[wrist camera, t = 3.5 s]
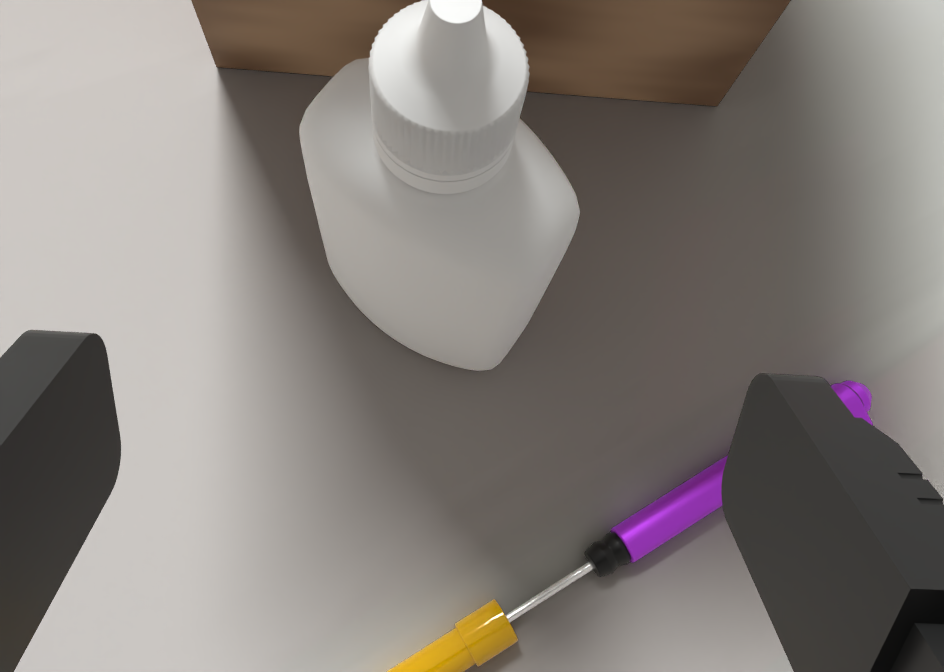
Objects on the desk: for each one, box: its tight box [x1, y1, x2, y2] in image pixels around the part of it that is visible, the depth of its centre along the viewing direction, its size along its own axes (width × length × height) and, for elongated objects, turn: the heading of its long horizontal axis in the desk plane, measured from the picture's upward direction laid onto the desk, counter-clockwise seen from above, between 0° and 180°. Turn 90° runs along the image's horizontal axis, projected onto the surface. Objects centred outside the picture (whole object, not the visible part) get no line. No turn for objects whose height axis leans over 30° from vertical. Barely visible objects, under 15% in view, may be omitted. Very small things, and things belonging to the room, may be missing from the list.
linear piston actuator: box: [386, 381, 873, 672], centre depth 21 cm, size 3×1×16 cm
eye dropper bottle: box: [299, 0, 580, 371], centre depth 16 cm, size 4×6×12 cm
